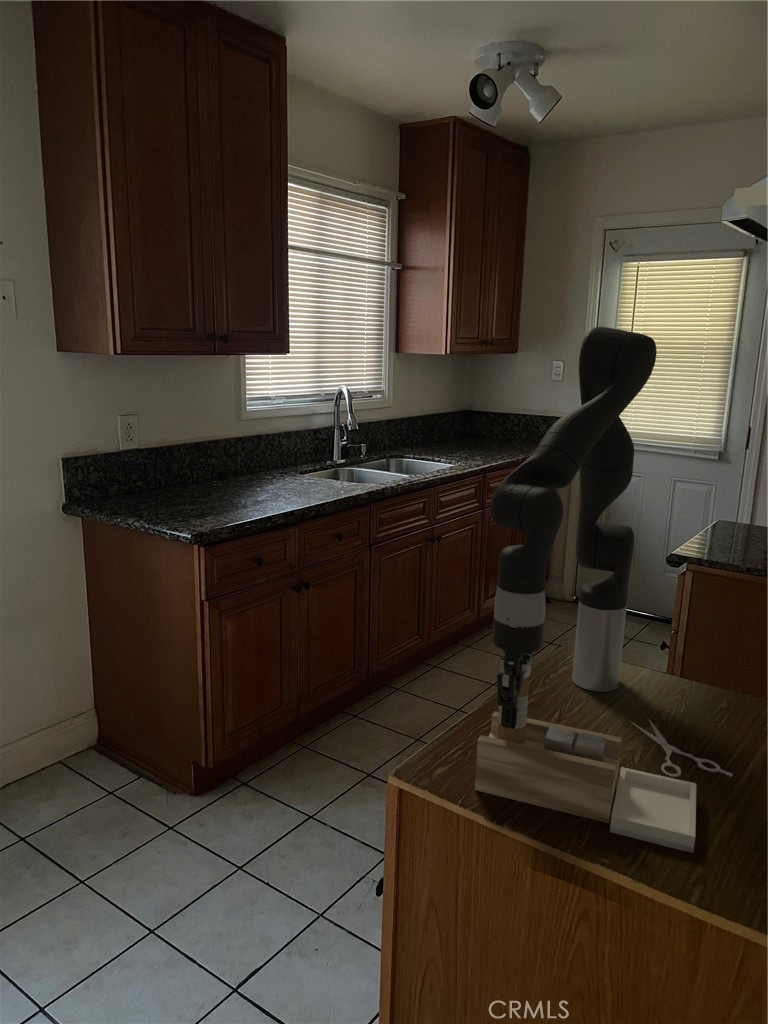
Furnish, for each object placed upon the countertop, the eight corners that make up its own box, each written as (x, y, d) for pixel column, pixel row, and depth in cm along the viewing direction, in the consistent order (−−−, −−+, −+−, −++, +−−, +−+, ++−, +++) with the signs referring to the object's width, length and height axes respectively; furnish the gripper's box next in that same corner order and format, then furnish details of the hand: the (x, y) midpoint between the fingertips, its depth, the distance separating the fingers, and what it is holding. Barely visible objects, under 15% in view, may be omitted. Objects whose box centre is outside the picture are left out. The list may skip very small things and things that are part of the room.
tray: (619, 781, 120) (621, 766, 119) (694, 798, 116) (696, 783, 115) (609, 831, 107) (611, 816, 107) (693, 853, 103) (695, 836, 103)
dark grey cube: (577, 756, 116) (579, 732, 116) (604, 761, 115) (606, 738, 114) (573, 769, 113) (575, 744, 112) (600, 775, 111) (603, 750, 110)
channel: (491, 758, 126) (494, 711, 124) (616, 787, 118) (621, 737, 116) (474, 789, 116) (477, 739, 115) (609, 823, 109) (614, 770, 107)
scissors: (674, 781, 120) (611, 719, 139) (673, 785, 120) (611, 723, 139) (733, 775, 122) (663, 715, 141) (732, 779, 122) (663, 718, 141)
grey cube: (547, 749, 118) (549, 726, 117) (574, 755, 117) (576, 731, 116) (543, 762, 114) (544, 738, 114) (569, 768, 113) (571, 743, 112)
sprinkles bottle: (494, 733, 120) (499, 654, 118) (522, 734, 120) (528, 655, 118) (498, 748, 116) (503, 667, 113) (527, 749, 116) (533, 667, 113)
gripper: (506, 597, 121) (500, 695, 125) (482, 627, 109) (476, 735, 112) (553, 604, 119) (545, 704, 122) (534, 636, 106) (526, 746, 110)
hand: (512, 719), depth 117 cm, fingers closed on sprinkles bottle, 4 cm apart
